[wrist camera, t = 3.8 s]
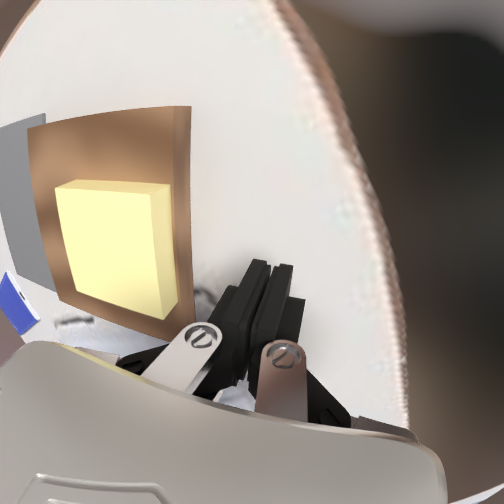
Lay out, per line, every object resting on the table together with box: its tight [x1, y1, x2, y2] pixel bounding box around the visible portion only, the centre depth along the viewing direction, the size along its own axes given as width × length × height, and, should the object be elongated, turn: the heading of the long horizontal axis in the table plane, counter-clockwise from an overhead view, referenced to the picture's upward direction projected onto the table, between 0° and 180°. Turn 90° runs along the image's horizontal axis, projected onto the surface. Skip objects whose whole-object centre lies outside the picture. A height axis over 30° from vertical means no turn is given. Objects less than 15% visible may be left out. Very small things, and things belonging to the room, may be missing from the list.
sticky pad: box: [55, 180, 178, 320], centre depth 16 cm, size 8×8×2 cm
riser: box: [27, 106, 196, 342], centre depth 19 cm, size 16×14×2 cm
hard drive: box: [0, 270, 40, 335], centre depth 32 cm, size 2×8×12 cm
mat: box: [0, 113, 57, 292], centre depth 22 cm, size 18×12×1 cm, turn 178°
